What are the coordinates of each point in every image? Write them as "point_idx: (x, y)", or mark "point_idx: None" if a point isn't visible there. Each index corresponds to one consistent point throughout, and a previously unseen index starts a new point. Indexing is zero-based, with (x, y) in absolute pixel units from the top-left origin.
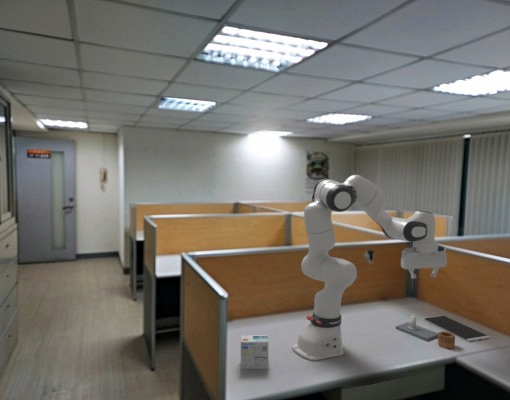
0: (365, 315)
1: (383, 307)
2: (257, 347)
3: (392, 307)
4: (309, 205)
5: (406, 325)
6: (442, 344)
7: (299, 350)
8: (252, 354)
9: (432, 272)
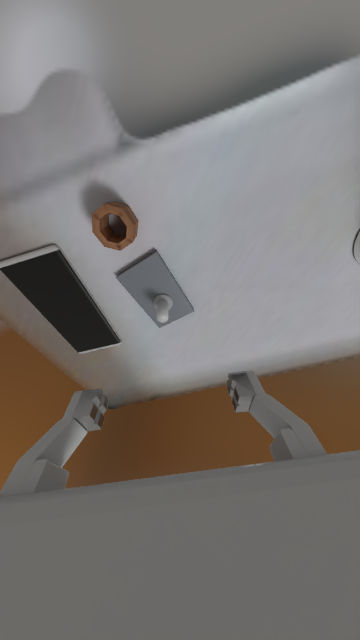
0: (217, 354)
1: (170, 378)
2: None
3: (156, 379)
4: None
5: (170, 314)
6: (132, 214)
7: None
8: None
9: (85, 432)
